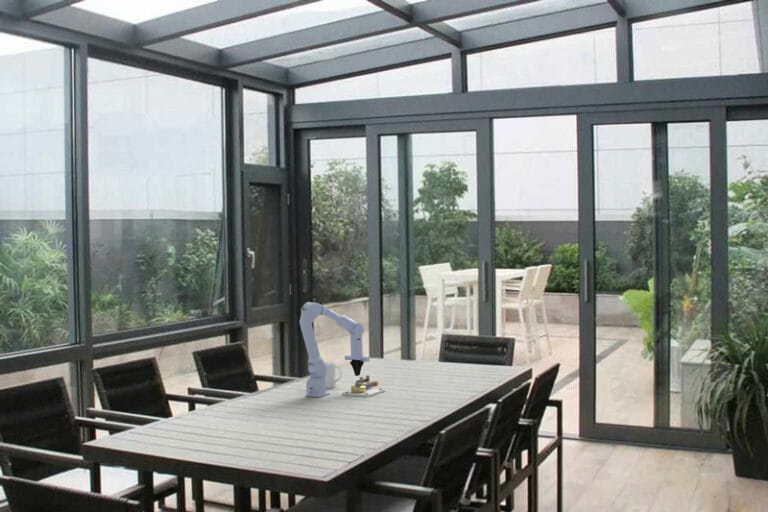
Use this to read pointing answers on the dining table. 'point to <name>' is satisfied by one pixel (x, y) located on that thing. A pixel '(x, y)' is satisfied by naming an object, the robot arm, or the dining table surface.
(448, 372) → the dining table surface
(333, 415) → the dining table surface
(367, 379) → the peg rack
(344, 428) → the dining table surface
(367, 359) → the robot arm
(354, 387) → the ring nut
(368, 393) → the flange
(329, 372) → the mug
